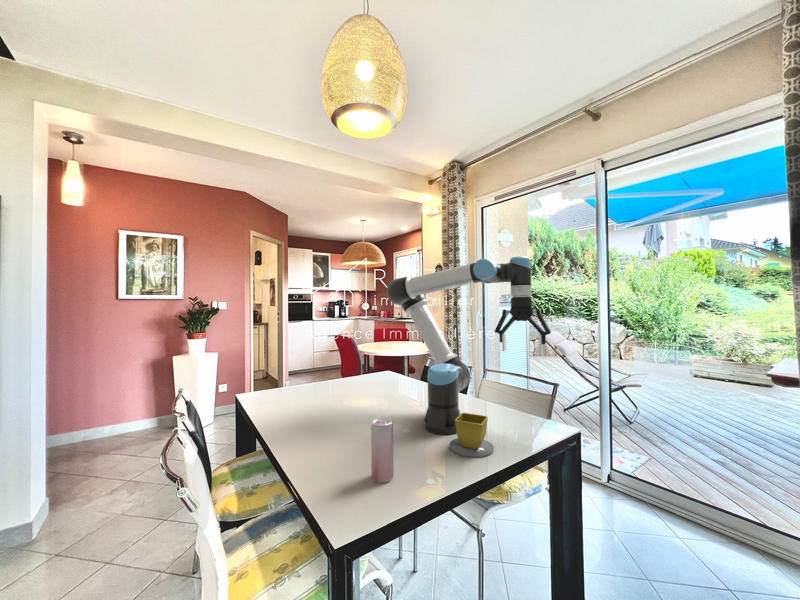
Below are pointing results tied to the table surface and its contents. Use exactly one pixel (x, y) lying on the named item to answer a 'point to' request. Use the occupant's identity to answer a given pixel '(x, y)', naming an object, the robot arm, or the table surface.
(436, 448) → the table surface
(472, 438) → the flower pot
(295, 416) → the table surface
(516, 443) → the table surface
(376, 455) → the beverage can
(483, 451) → the disc
